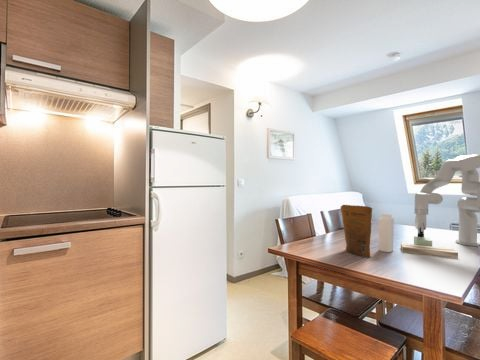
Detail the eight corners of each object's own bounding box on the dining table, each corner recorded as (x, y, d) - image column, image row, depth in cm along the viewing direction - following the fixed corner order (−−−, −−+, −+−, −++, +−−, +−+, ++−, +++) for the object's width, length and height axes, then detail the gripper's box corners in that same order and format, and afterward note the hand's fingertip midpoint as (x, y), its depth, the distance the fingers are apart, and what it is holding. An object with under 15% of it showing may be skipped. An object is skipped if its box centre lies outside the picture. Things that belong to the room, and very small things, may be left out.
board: (400, 248, 165) (400, 243, 165) (452, 253, 154) (452, 248, 154) (402, 252, 156) (403, 247, 156) (457, 258, 145) (458, 252, 145)
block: (413, 245, 173) (414, 236, 173) (428, 247, 169) (428, 237, 169) (416, 249, 164) (416, 239, 164) (432, 250, 160) (432, 241, 160)
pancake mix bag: (367, 259, 141) (368, 207, 141) (338, 250, 158) (339, 203, 157) (375, 257, 144) (376, 206, 144) (346, 249, 161) (347, 203, 161)
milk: (388, 252, 154) (389, 215, 154) (378, 250, 159) (378, 214, 159) (393, 250, 158) (394, 214, 158) (382, 248, 163) (383, 213, 163)
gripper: (412, 210, 181) (412, 236, 181) (416, 212, 167) (415, 241, 168) (425, 211, 178) (425, 238, 178) (430, 213, 164) (430, 242, 164)
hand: (420, 239), depth 173 cm, fingers closed
